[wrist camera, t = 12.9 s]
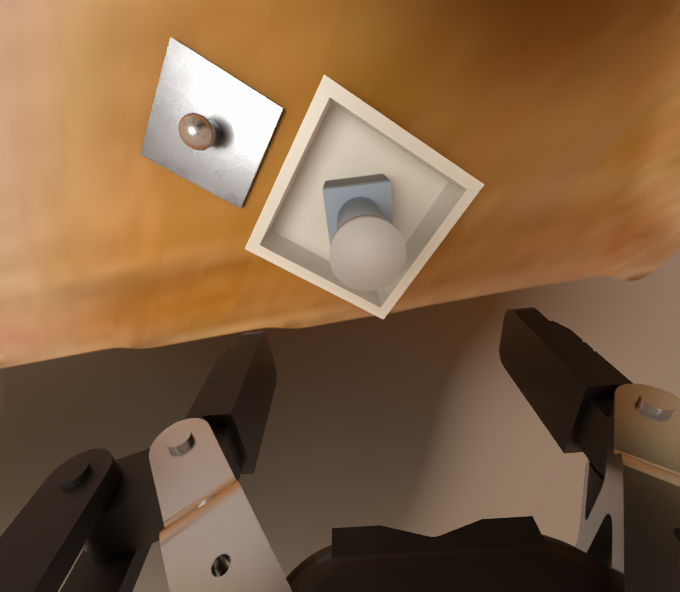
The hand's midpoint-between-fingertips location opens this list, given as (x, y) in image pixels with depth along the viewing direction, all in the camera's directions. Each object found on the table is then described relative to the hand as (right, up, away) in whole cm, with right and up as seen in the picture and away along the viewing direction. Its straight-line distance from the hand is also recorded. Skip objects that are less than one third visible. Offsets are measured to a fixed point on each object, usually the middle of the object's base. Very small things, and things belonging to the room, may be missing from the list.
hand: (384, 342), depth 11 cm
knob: (0, +11, +21) cm, 23 cm away
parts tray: (0, +11, +22) cm, 24 cm away
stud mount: (-13, +17, +19) cm, 28 cm away
